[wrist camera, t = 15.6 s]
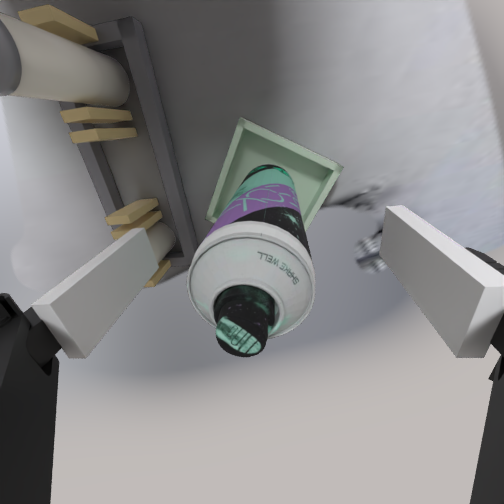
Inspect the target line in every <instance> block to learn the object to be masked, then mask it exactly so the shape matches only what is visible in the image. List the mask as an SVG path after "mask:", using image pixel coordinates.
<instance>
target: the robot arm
mask: <svg viewBox="0 0 504 504" xmlns="http://www.w3.org/2000/svg"><path fill="white" fill-rule="evenodd" d="M379 255H380V256H381V257H382V259H383V260H384V261H385V263H386V264H387V265H388V267H389V268H390V269H391V271H392V272H393V273H394V274H395V276H396V277H397V279H398V280H399V281H400V283H401V284H402V285H403V287H404V288H405V289H406V291H407V292H408V293H409V294H410V296H411V297H412V299H413V300H414V301H415V303H416V304H417V305H418V307H419V308H420V309H421V311H422V312H423V313H424V315H425V316H426V318H427V319H428V320H429V321H430V323H431V324H432V326H433V327H434V328H435V330H436V331H437V332H438V334H439V335H440V336H441V338H442V339H443V340H444V341H445V343H446V344H447V346H448V347H449V348H450V349H451V351H452V352H453V354H454V355H455V356H456V358H484V357H485V355H486V352H487V350H488V348H489V346H490V344H492V345H493V346H494V347H495V348H496V349H497V350H498V351H499V353H500V354H501V356H500V358H499V360H498V362H497V364H496V365H495V367H494V369H493V371H492V373H491V375H490V377H489V379H490V380H492V381H493V386H492V391H491V396H490V401H489V406H488V412H487V417H486V422H485V427H484V433H483V438H482V443H481V448H480V453H479V458H478V464H477V469H476V474H475V479H474V484H473V490H472V495H471V500H470V504H504V266H503V265H501V264H500V263H497V262H496V261H495V260H493V259H492V258H490V257H489V256H487V255H486V254H484V253H481V252H479V251H476V250H474V249H471V248H464V247H462V246H461V245H459V244H458V243H456V242H455V241H454V240H452V239H451V238H449V237H448V236H446V235H445V234H443V233H442V232H441V231H439V230H438V229H436V228H435V227H433V226H432V225H430V224H429V223H428V222H426V221H425V220H423V219H422V218H420V217H419V216H417V215H416V214H415V213H413V212H412V211H410V210H409V209H407V208H406V207H404V206H403V205H399V206H387V207H386V211H385V218H384V225H383V232H382V239H381V246H380V254H379ZM158 268H159V266H158V263H157V261H156V258H155V255H154V252H153V250H152V247H151V244H150V241H149V239H148V236H147V233H146V230H145V228H134V229H131V230H130V231H129V232H127V233H126V234H125V235H123V236H122V237H121V238H119V239H118V240H117V241H115V242H114V243H113V244H111V245H110V246H109V247H107V248H106V249H105V250H103V251H102V252H101V253H99V254H98V255H97V256H95V257H94V258H93V259H91V260H90V261H89V262H87V263H86V264H85V265H83V266H82V267H81V268H79V269H78V270H77V271H75V272H74V273H73V274H71V275H70V276H69V277H67V278H66V279H65V280H63V281H62V282H60V283H59V284H58V285H56V286H55V287H54V288H52V289H51V290H50V291H48V292H47V293H46V294H44V295H43V296H42V297H40V298H39V299H38V300H37V301H35V302H34V303H33V304H31V306H32V307H30V308H29V309H28V310H27V311H25V312H24V313H23V312H22V311H21V310H20V308H19V307H18V306H17V304H16V303H15V302H14V300H13V299H12V298H11V296H10V295H9V294H7V293H1V294H0V504H50V500H51V483H52V468H53V452H54V437H55V421H56V404H57V389H58V372H59V361H58V359H57V357H56V356H55V354H56V353H57V352H58V351H59V350H60V349H61V348H62V349H63V350H64V352H65V353H66V355H67V356H68V358H87V357H88V355H89V354H90V353H91V352H92V351H93V349H94V348H95V347H96V346H97V344H98V343H99V342H100V341H101V339H102V338H103V337H104V335H105V334H106V333H107V332H108V331H109V329H110V328H111V327H112V325H113V324H114V323H115V322H116V321H117V319H118V318H119V317H120V316H121V314H122V313H123V312H124V310H125V309H126V308H127V307H128V306H129V304H130V303H131V302H132V301H133V300H134V298H135V297H136V296H137V295H138V293H139V292H140V291H141V290H142V288H143V287H144V286H145V285H146V283H147V282H148V281H149V280H150V278H151V277H152V276H153V275H154V273H155V272H156V271H157V270H158Z"/></svg>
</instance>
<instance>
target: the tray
mask: <svg viewBox="0 0 504 504" xmlns="http://www.w3.org/2000/svg"><path fill="white" fill-rule="evenodd" d="M262 164H275V165H279V166H280V167H282V168H284V169H285V170H286V171H287V172H288V173H289V174H290V176H291V177H292V179H293V182H294V186H295V190H296V194H297V199H298V203H299V207H300V211H301V216H302V220H303V224H304V228H305V232H306V231H307V229H308V227H309V226H310V224H311V222H312V220H313V219H314V217H315V215H316V214H317V212H318V210H319V209H320V207H321V205H322V203H323V202H324V200H325V198H326V197H327V195H328V193H329V191H330V190H331V188H332V186H333V185H334V183H335V181H336V179H337V178H338V176H339V174H340V173H341V171H342V169H343V168H344V167H343V166H341V165H340V164H338V163H336V162H334V161H332V160H330V159H328V158H326V157H323V156H321V155H319V154H317V153H315V152H313V151H311V150H309V149H307V148H305V147H303V146H301V145H298V144H296V143H294V142H292V141H290V140H288V139H286V138H284V137H282V136H280V135H278V134H275V133H273V132H271V131H269V130H267V129H265V128H263V127H261V126H259V125H257V124H255V123H252V122H250V121H248V120H246V119H244V118H239V121H238V124H237V127H236V130H235V133H234V135H233V138H232V141H231V144H230V147H229V150H228V153H227V156H226V159H225V162H224V165H223V168H222V171H221V173H220V176H219V179H218V182H217V185H216V188H215V191H214V194H213V197H212V200H211V203H210V206H209V209H208V211H207V214H206V217H205V220H208V221H210V222H212V223H215V222H216V221H217V219H218V218H219V216H220V215H221V213H222V212H223V210H224V209H225V207H226V206H227V204H228V203H229V201H230V200H231V198H232V197H233V195H234V194H235V192H236V191H237V189H238V188H239V186H240V185H241V183H242V182H243V180H244V179H245V177H246V176H247V174H248V173H249V172H250V171H251V170H252V169H254V168H255V167H257V166H259V165H262Z"/></svg>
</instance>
